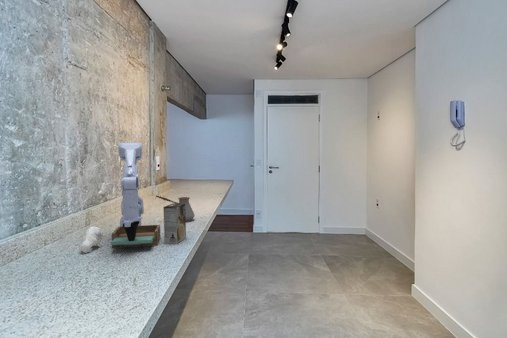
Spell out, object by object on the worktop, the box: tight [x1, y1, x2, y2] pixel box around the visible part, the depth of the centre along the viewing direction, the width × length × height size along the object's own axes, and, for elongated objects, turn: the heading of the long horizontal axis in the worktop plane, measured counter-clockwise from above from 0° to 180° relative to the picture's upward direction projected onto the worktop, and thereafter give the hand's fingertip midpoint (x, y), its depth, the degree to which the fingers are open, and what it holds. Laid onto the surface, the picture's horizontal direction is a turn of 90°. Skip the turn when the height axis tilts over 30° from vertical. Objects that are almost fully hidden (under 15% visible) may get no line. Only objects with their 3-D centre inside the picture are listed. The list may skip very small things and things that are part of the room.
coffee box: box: [163, 202, 187, 245], centre depth 140 cm, size 9×6×16 cm
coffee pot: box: [154, 195, 195, 223], centre depth 177 cm, size 21×12×15 cm, turn 107°
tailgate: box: [110, 236, 154, 246], centre depth 128 cm, size 2×15×7 cm
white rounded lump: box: [79, 225, 104, 254], centre depth 129 cm, size 6×8×12 cm
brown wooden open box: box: [111, 224, 161, 249], centre depth 138 cm, size 12×18×6 cm, turn 100°
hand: (131, 240), depth 126 cm, fingers closed, pressing on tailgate
